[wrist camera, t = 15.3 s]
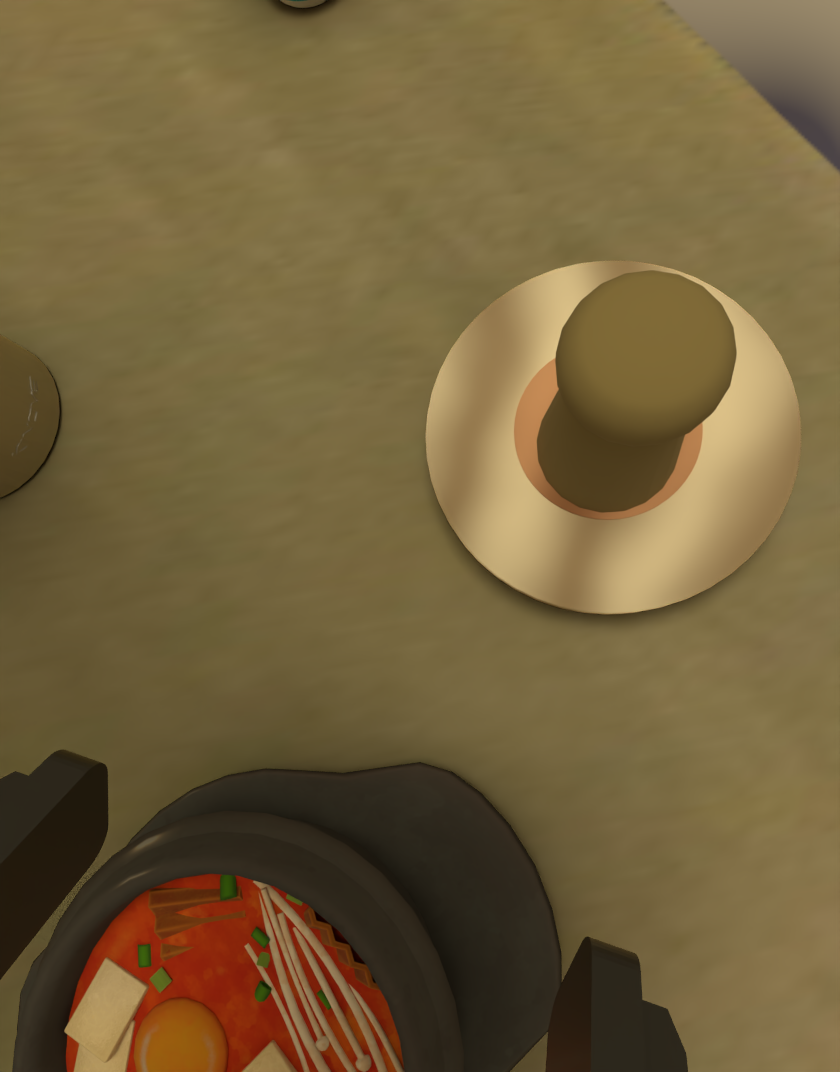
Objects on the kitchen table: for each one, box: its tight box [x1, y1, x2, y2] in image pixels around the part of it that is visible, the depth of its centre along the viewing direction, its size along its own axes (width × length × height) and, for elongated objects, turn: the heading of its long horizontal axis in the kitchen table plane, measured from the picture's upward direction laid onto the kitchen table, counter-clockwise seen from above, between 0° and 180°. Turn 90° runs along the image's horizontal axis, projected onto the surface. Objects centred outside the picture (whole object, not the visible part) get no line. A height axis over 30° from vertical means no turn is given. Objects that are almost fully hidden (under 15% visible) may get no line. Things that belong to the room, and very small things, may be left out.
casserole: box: [12, 762, 562, 1072], centre depth 27 cm, size 25×19×8 cm
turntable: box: [426, 261, 801, 615], centre depth 31 cm, size 16×16×3 cm
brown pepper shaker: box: [537, 270, 737, 513], centre depth 24 cm, size 6×6×11 cm
